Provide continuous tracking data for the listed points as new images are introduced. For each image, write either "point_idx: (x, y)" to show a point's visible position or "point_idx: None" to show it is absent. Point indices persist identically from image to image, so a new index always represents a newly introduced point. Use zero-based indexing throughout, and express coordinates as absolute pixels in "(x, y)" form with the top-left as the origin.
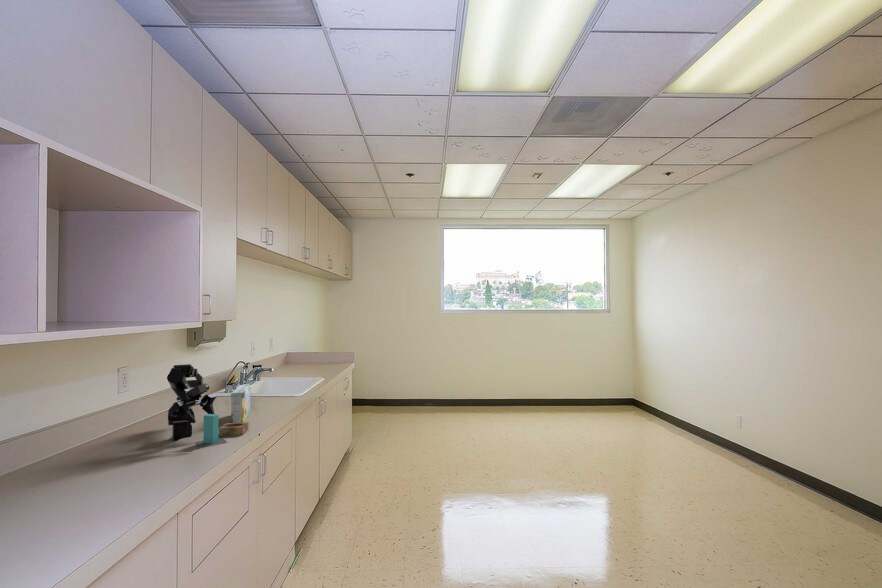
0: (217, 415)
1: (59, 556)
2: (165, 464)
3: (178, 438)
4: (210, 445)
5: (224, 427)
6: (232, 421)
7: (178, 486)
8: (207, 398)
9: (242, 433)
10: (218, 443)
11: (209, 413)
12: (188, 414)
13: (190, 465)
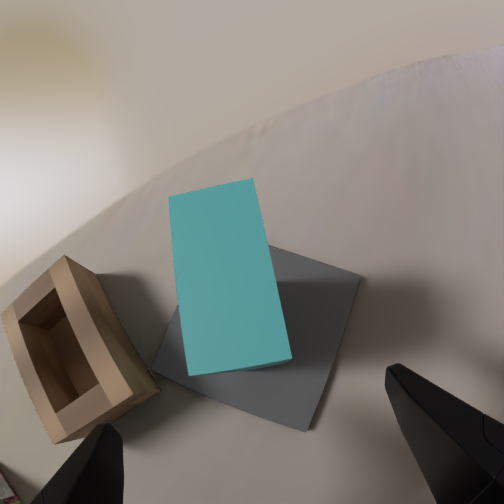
0: (186, 195)
1: None
2: (501, 225)
3: None
4: (292, 268)
5: (106, 368)
6: (9, 499)
7: (470, 66)
8: None
9: (87, 270)
10: None
11: (115, 496)
12: (496, 423)
13: (440, 133)
